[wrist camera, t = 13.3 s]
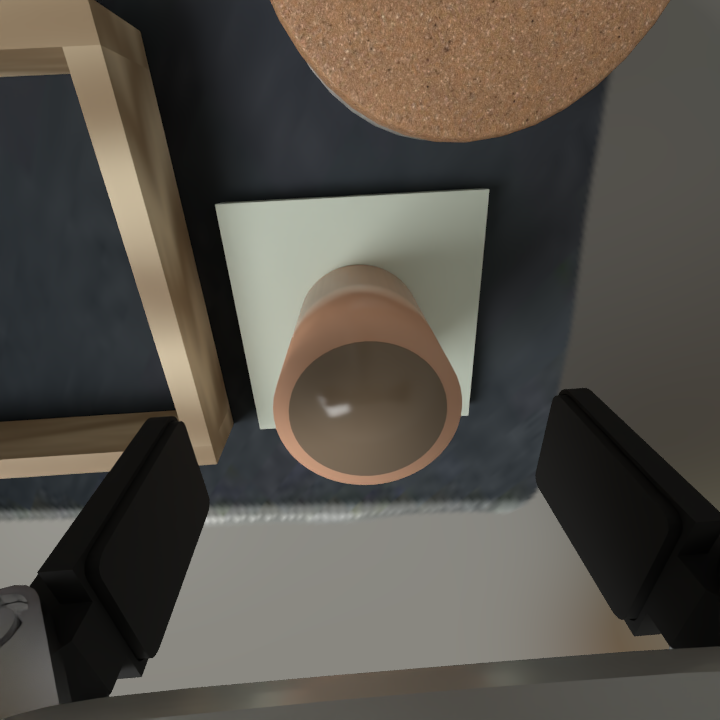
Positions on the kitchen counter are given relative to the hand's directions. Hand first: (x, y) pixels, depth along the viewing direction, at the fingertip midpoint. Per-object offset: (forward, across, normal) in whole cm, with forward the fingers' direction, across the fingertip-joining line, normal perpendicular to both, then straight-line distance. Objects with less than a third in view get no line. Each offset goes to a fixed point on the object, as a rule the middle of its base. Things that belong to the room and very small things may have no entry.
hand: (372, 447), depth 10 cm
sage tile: (+11, 0, +1) cm, 11 cm away
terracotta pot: (+10, 0, +1) cm, 10 cm away
